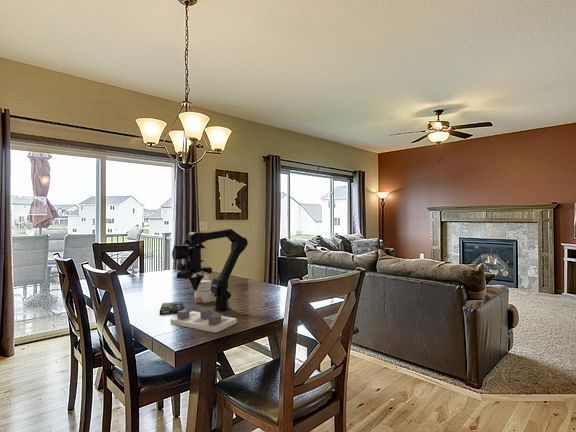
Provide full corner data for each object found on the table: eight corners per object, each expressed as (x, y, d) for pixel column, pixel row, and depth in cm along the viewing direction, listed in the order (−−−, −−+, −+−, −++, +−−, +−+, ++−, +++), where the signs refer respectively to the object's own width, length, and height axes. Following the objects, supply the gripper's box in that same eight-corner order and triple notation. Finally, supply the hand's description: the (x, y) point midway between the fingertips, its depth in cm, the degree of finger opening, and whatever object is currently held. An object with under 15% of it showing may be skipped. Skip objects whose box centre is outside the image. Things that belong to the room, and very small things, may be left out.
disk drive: (181, 314, 169) (182, 306, 184) (181, 309, 169) (182, 301, 184) (159, 316, 167) (162, 307, 181) (159, 310, 167) (162, 302, 181)
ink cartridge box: (195, 303, 187) (195, 276, 187) (194, 301, 192) (194, 275, 192) (211, 302, 190) (211, 275, 190) (210, 299, 195) (209, 274, 195)
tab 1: (183, 315, 158) (183, 309, 158) (189, 316, 156) (189, 310, 156) (177, 318, 154) (177, 311, 154) (183, 319, 152) (183, 312, 152)
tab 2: (214, 321, 149) (214, 314, 149) (221, 322, 148) (221, 315, 148) (208, 324, 146) (208, 316, 146) (215, 325, 144) (215, 318, 144)
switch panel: (192, 315, 166) (192, 310, 166) (236, 322, 154) (236, 318, 154) (170, 323, 153) (170, 319, 153) (216, 332, 141) (216, 327, 141)
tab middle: (206, 315, 158) (206, 308, 158) (212, 316, 156) (212, 309, 156) (200, 317, 154) (200, 311, 154) (206, 318, 153) (206, 312, 153)
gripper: (195, 255, 178) (196, 285, 178) (167, 259, 161) (168, 292, 162) (212, 256, 173) (212, 287, 173) (185, 261, 156) (186, 295, 156)
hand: (195, 290), depth 166 cm, fingers closed
